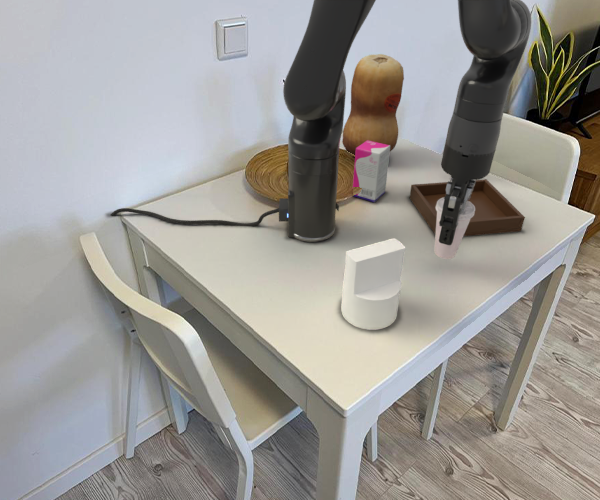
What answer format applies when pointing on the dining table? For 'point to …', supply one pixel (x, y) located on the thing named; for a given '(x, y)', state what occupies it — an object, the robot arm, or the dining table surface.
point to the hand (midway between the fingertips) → (449, 232)
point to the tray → (488, 208)
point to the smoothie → (463, 222)
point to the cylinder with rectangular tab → (372, 284)
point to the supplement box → (371, 170)
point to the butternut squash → (374, 102)
